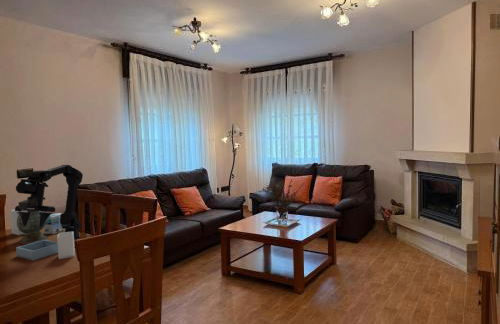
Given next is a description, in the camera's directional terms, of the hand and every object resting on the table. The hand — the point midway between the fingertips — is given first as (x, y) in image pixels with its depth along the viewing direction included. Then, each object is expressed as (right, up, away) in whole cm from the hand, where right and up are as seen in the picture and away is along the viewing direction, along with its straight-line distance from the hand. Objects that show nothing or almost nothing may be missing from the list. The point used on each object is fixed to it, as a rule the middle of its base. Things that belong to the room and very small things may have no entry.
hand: (32, 226), depth 163 cm
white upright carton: (+19, -14, -3) cm, 23 cm away
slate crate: (+3, -14, +1) cm, 14 cm away
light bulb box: (-15, -12, +43) cm, 47 cm away
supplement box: (-34, -13, +43) cm, 56 cm away
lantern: (-18, -13, +27) cm, 35 cm away
